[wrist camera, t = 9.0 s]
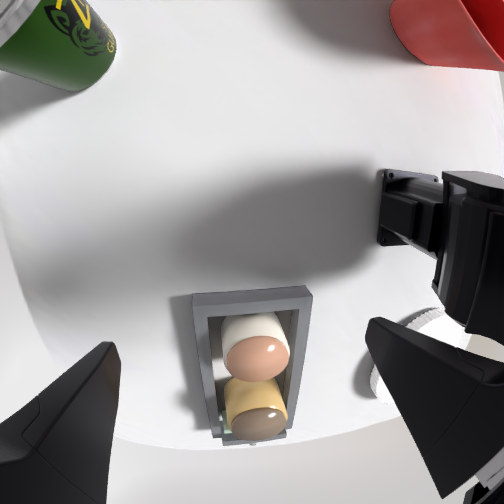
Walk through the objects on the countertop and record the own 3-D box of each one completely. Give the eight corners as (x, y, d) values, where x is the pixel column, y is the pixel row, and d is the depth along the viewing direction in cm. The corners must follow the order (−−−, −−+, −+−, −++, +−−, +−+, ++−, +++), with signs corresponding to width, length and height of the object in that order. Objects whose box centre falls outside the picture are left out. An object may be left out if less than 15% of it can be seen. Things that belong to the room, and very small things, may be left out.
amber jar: (275, 401, 27) (286, 437, 23) (225, 407, 26) (230, 444, 22) (279, 368, 25) (292, 406, 21) (222, 373, 24) (226, 414, 20)
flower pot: (364, -28, 13) (425, -70, 4) (445, 11, 15) (507, -6, 6) (380, 61, 17) (466, 35, 8) (460, 92, 18) (534, 92, 9)
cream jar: (249, 294, 21) (257, 327, 18) (291, 323, 23) (304, 355, 20) (208, 333, 23) (210, 367, 19) (251, 357, 24) (258, 390, 21)
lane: (305, 285, 22) (318, 304, 20) (287, 417, 29) (294, 436, 26) (192, 293, 21) (191, 315, 18) (211, 426, 27) (213, 446, 25)
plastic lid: (351, 399, 30) (359, 413, 28) (390, 308, 26) (404, 320, 23) (424, 379, 33) (433, 389, 31) (463, 300, 28) (475, 309, 26)
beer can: (75, 107, 15) (-41, 84, 4) (45, 66, 13) (-56, 28, 2) (132, 57, 14) (62, -31, 3) (98, 18, 12) (29, -62, 1)
